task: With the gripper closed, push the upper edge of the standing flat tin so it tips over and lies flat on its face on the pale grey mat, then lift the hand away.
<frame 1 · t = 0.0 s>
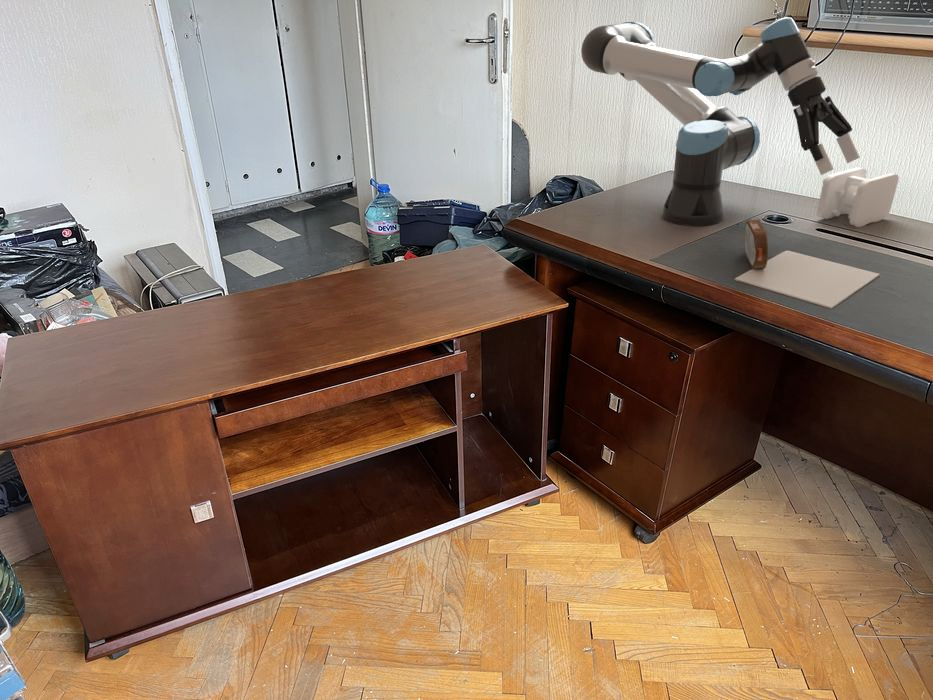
hand: (840, 166, 160), 15 cm above the table, tool tilted 35°, fingers open, 13 cm apart
tin: (753, 262, 151), on the table, touching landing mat
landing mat: (806, 277, 143), on the table
cable organizer: (850, 220, 172), on the table
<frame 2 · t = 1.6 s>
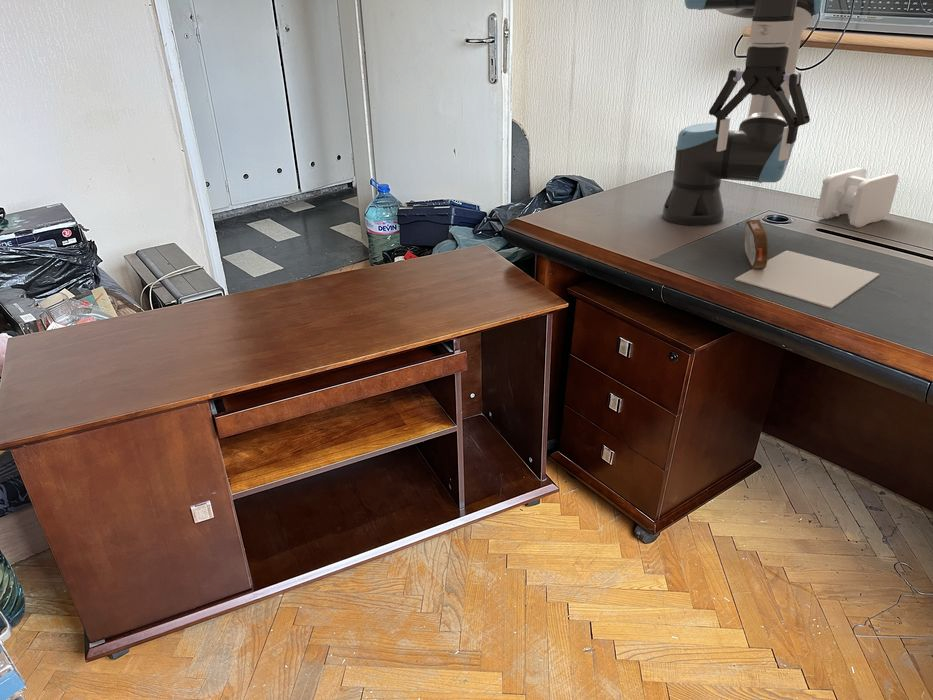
hand: (751, 154, 144), 23 cm above the table, tool pointing down, fingers open, 13 cm apart
nothing on the table moved.
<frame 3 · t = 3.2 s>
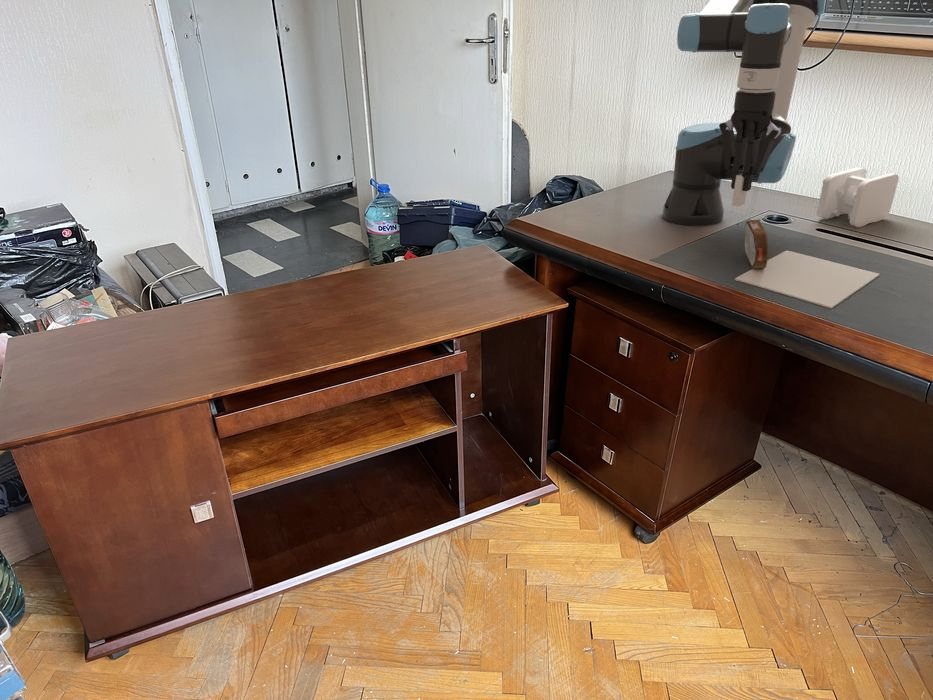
hand: (738, 204, 148), 12 cm above the table, tool pointing down, fingers closed
nothing on the table moved.
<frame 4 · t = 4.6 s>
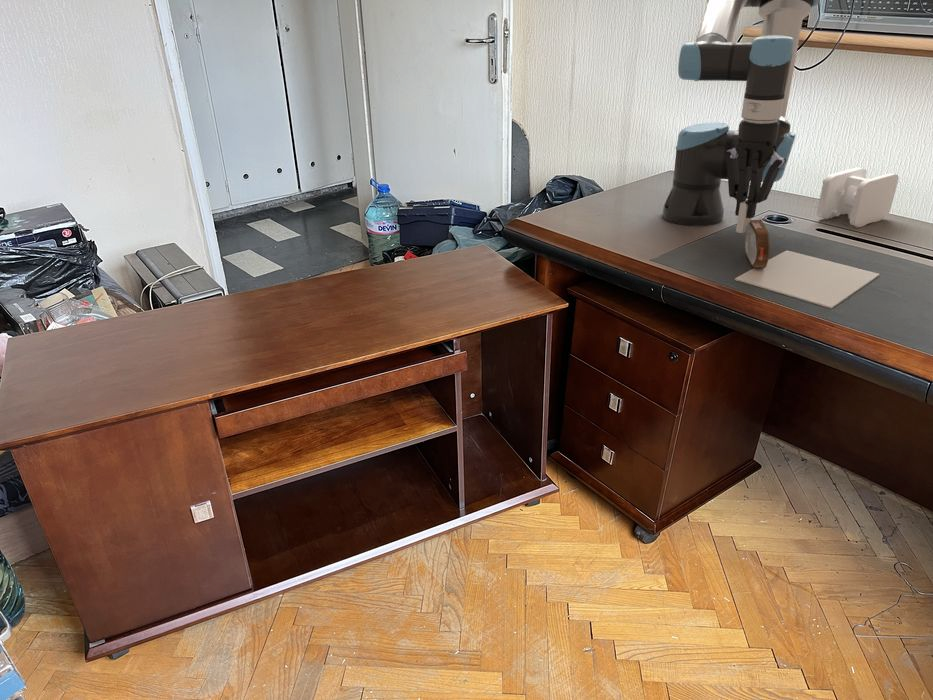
hand: (742, 230, 150), 7 cm above the table, tool pointing down, fingers closed
tin: (753, 262, 151), on the table, touching gripper, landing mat
everything else where it was.
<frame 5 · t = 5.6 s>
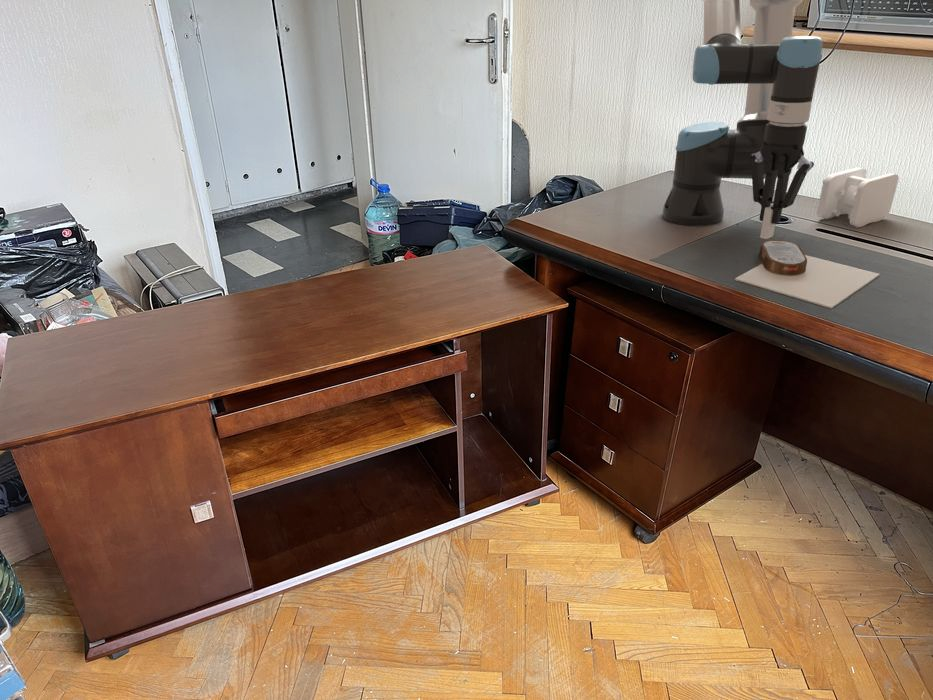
hand: (766, 236, 146), 7 cm above the table, tool pointing down, fingers closed
tin: (761, 254, 150), point 2 cm above the table, touching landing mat
everything else where it was.
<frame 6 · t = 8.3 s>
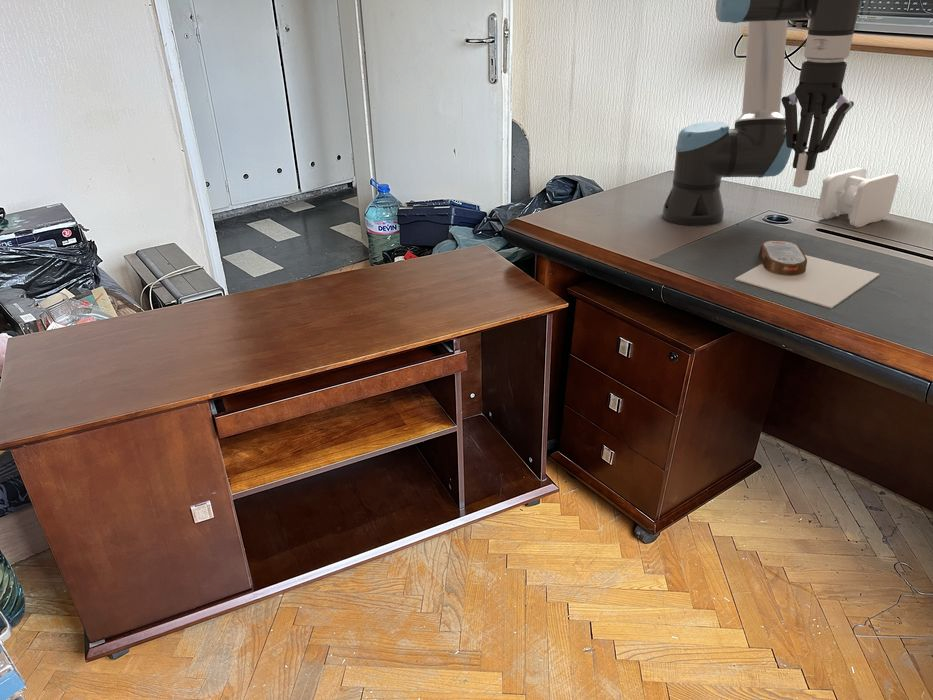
hand: (799, 185, 138), 18 cm above the table, tool pointing down, fingers closed
nothing on the table moved.
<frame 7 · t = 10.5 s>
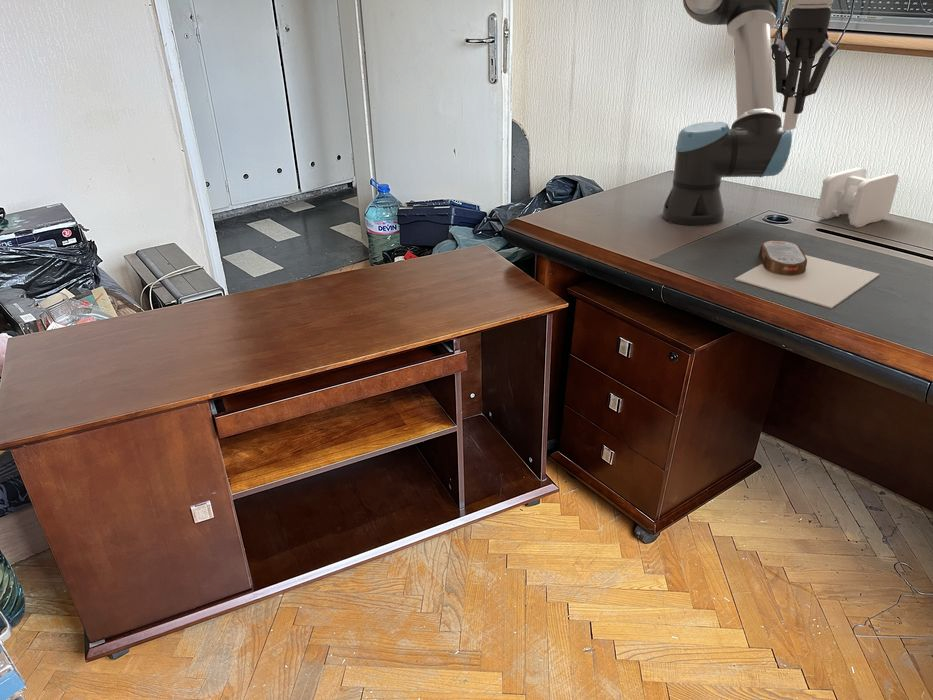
hand: (789, 128, 147), 26 cm above the table, tool pointing down, fingers closed
nothing on the table moved.
at the end: tin tilted 94°; tin inside the target area (2.9 cm from its centre), point 1.9 cm above the table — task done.
